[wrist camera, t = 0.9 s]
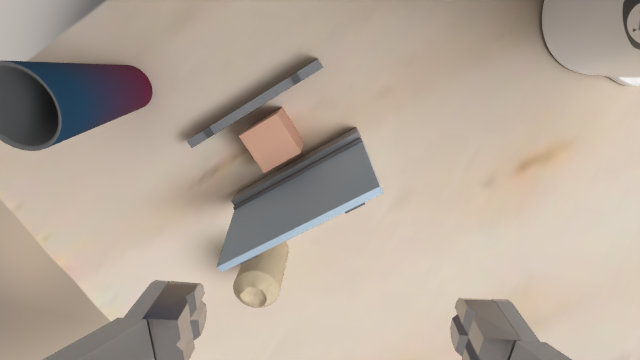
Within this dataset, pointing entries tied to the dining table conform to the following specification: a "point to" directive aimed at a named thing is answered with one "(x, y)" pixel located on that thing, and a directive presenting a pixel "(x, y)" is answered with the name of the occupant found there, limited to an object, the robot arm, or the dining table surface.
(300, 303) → the dining table surface
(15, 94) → the cup
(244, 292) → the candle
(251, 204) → the cover
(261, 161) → the block
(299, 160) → the grey rail
